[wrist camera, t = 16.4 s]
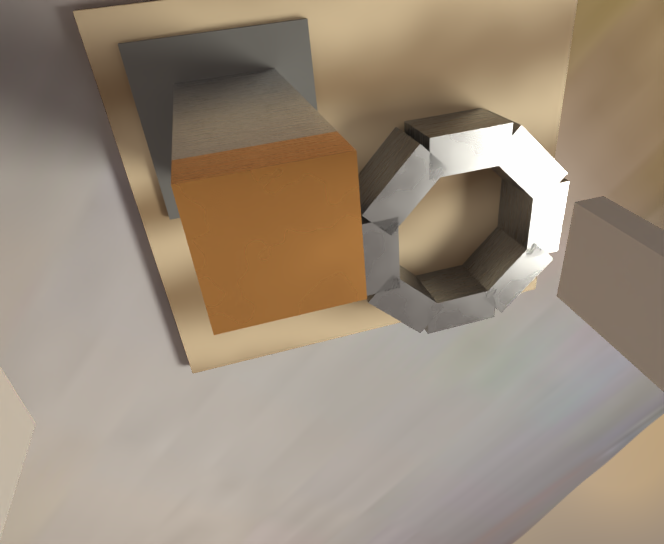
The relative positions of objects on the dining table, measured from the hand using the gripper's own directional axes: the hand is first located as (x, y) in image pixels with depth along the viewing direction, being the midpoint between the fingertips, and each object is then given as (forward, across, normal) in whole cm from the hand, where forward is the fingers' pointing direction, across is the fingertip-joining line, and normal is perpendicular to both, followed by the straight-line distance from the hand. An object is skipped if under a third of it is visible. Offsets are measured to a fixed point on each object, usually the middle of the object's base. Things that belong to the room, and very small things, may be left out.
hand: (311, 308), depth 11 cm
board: (+19, +7, -6) cm, 21 cm away
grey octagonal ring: (+18, +12, -9) cm, 23 cm away
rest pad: (+18, 0, -1) cm, 18 cm away
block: (+18, 0, -1) cm, 18 cm away
